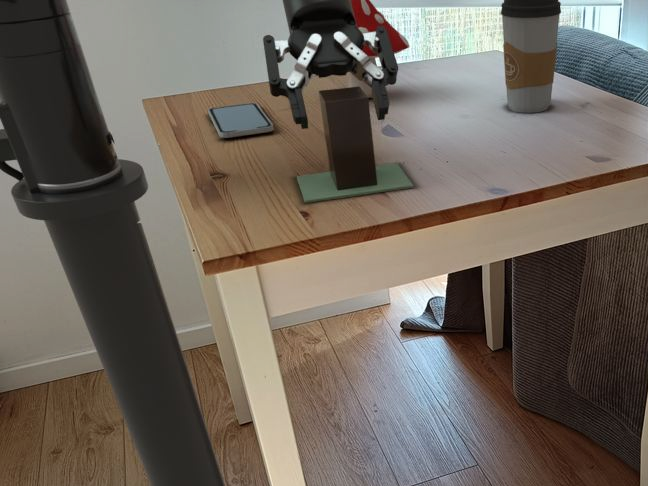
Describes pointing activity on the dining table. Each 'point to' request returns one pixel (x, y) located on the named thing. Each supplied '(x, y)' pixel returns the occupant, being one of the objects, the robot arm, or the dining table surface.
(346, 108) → the walnut block
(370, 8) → the decorative mushroom
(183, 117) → the dining table surface
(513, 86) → the coffee cup
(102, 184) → the robot arm
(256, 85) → the dining table surface
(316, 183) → the mat
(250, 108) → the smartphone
